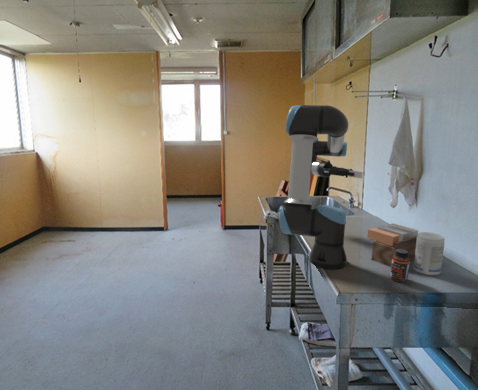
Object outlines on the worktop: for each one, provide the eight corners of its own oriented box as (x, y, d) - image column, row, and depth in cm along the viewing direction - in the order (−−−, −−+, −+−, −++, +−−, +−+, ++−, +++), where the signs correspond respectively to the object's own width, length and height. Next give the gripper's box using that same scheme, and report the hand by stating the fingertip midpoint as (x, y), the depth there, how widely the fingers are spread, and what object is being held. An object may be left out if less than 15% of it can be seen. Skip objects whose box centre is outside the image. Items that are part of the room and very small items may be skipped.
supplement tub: (440, 269, 139) (445, 234, 136) (440, 278, 130) (446, 241, 127) (413, 264, 143) (417, 230, 140) (412, 272, 135) (417, 236, 132)
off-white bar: (386, 233, 157) (387, 224, 156) (392, 231, 159) (393, 223, 159) (412, 240, 147) (413, 231, 147) (417, 239, 150) (418, 230, 149)
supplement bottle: (388, 280, 128) (391, 251, 125) (391, 274, 133) (394, 246, 130) (406, 284, 125) (410, 255, 122) (408, 278, 130) (411, 250, 127)
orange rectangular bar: (367, 238, 150) (368, 229, 149) (373, 236, 152) (373, 227, 151) (392, 246, 140) (393, 236, 139) (398, 244, 142) (399, 235, 141)
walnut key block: (371, 259, 147) (373, 236, 145) (400, 250, 159) (402, 228, 156) (393, 268, 139) (396, 243, 137) (422, 258, 150) (425, 235, 148)
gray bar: (377, 235, 154) (378, 226, 153) (382, 234, 156) (383, 225, 155) (402, 243, 144) (403, 234, 143) (407, 241, 146) (408, 232, 145)
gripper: (330, 175, 180) (369, 182, 160) (312, 177, 173) (351, 184, 153) (332, 161, 178) (371, 166, 159) (313, 162, 171) (352, 167, 152)
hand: (361, 175), depth 156 cm, fingers closed
